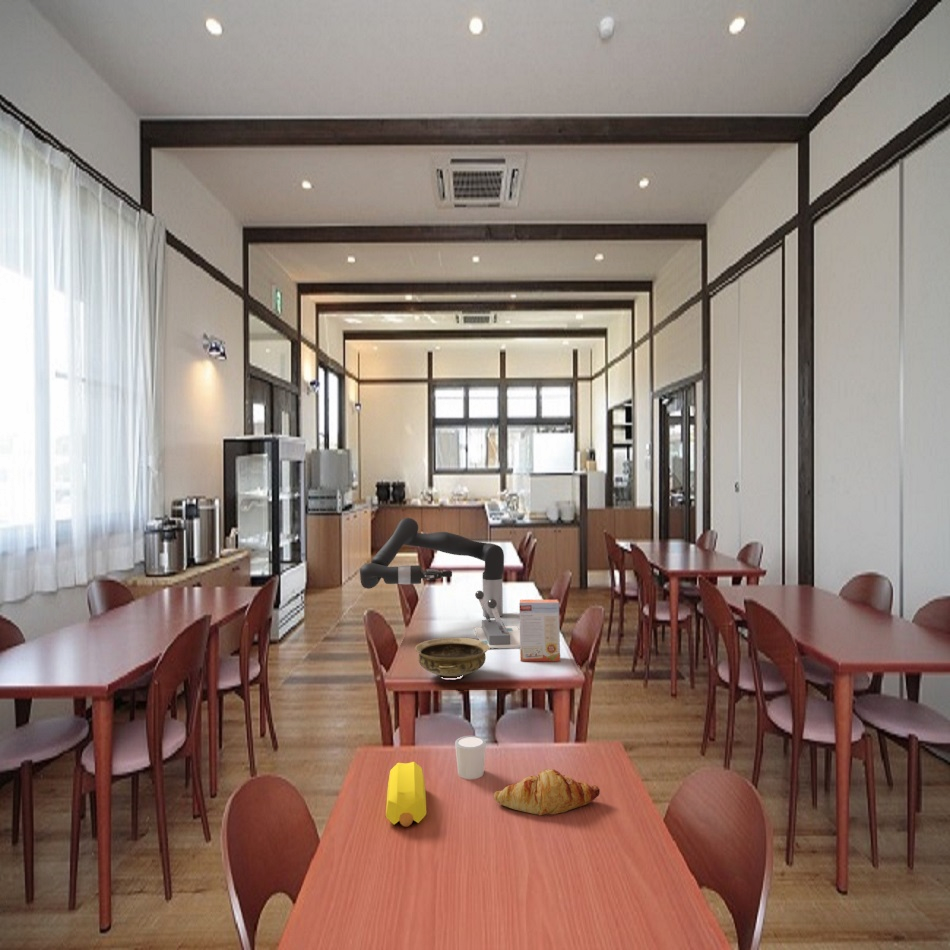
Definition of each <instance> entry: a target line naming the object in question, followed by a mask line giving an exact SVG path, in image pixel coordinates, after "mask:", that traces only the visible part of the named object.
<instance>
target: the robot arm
mask: <svg viewBox="0 0 950 950" xmlns="http://www.w3.org/2000/svg"><path fill="white" fill-rule="evenodd" d="M404 545H405V546H409V547H410V546H411V547H419V548H425V549H428V550H434V551H438V552H441V553H445V554H449V555H454V556H465V557H472V558H473V559H474V558H475V559H478V560H480V561H482V562H484V571H483V572H482V592H483V593H484V597H483V598H484V601H485V604H486V606H487V609H488V612H489V614H490V617H491V618H495V617H494V614H493V612H492V609H491V608H489V607H488V601H489V600H490V599H494V600H496V602H497V606H496V608H497V610H498V613H499V616H501V617H503V616H502V615H504V604H503V602H504V600H503V599H504V597H503V590H504V589H503V574H504V571H505V570H504V569H505V567H504V566H505V553H504V550H503V548H502V546H500V545H498V544H495V543H490V542H482V541H475V540H471V539H469V538H467V537H465V536H462V535H459V534H455V533H452V532H447V531H438V532H431V533H421V532H419V524H418V522H417V521H416V520H415V519H413V518H410V517H405V518H402V519H401V520H400V521H399V522H398V524H397V525H396V527H395V530H394V532H393V533H392V535H391V536H390V538H389V539H388V540H387V541H386V542H385V543H384V545H383V546H382V547H381V548H380V549H379V550H378V552H377V553H376V554H375V555H374V556H373V558H372V559H371V562H368V563H365V564H363V565H361V567H360V568H359V579H360V583H361V586H362V587H363V588H364V589H367V590H368V589H373V588H374V587H376V586H378V584H379V582H380V581H381V580H383V582H384V583H385V584H387V585H398V584H400V585H420V584H422V579H425V580H426V581H431V580H432V581H433V580H438V579H443V578H451V577H453V571H452V570H443V569H442V570H441V569H435V568H434V569H433V568H426V569H425V570H422V565H402V566H399V565H398V566H389V565H390V564H391V563H392V561H394V559H395V558H396V556H397V554H398V553H399V552H400V550H401V549H402V547H403V546H404ZM482 616H483V617H485V615H484V612H483V611H482Z"/></svg>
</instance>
